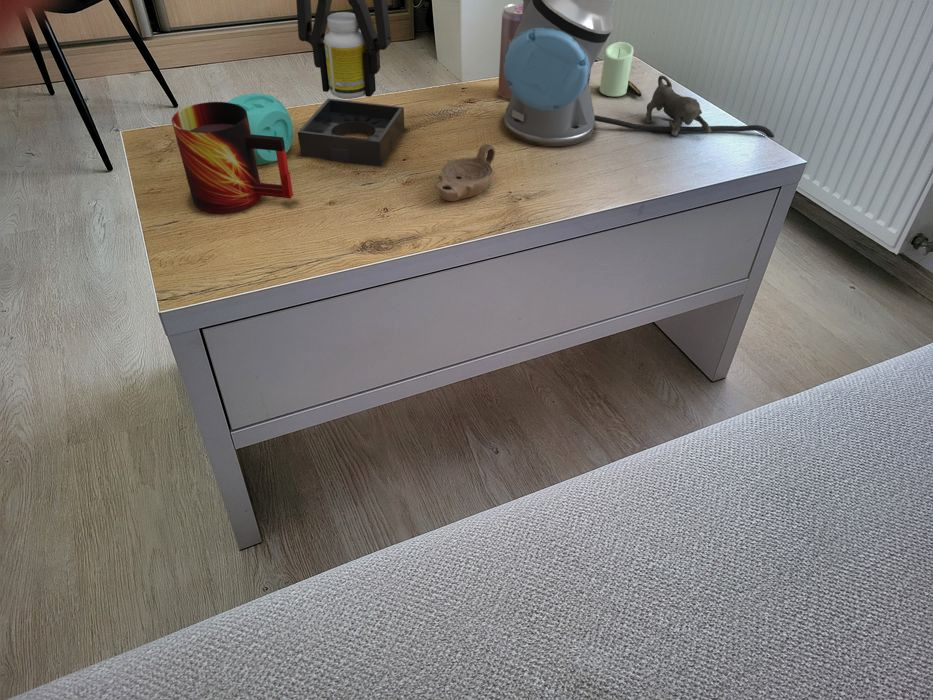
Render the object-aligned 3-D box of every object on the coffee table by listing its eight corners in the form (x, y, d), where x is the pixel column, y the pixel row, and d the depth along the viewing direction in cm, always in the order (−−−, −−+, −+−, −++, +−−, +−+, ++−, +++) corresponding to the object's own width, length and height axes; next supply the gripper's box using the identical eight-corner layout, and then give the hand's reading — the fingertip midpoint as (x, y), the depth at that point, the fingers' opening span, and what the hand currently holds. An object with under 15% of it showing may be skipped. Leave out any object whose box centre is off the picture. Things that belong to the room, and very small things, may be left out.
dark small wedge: (609, 73, 142) (608, 65, 141) (614, 71, 142) (614, 64, 141) (638, 100, 131) (638, 92, 130) (644, 98, 132) (644, 90, 131)
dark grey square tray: (405, 129, 120) (404, 118, 119) (381, 166, 111) (380, 154, 109) (330, 120, 122) (328, 109, 121) (300, 156, 113) (298, 144, 111)
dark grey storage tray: (404, 129, 120) (403, 106, 118) (381, 166, 111) (379, 142, 108) (330, 121, 122) (327, 98, 120) (300, 156, 113) (297, 132, 110)
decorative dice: (224, 155, 112) (213, 105, 107) (263, 137, 117) (254, 88, 112) (259, 170, 109) (249, 120, 103) (297, 151, 113) (290, 102, 108)
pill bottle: (378, 91, 111) (373, 17, 104) (347, 103, 108) (341, 27, 100) (351, 80, 114) (345, 7, 107) (321, 91, 111) (312, 16, 103)
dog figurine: (638, 118, 126) (646, 76, 121) (663, 112, 128) (672, 70, 123) (685, 146, 118) (696, 102, 113) (711, 139, 120) (722, 95, 115)
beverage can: (530, 89, 134) (537, 3, 124) (529, 102, 130) (536, 14, 120) (499, 87, 135) (503, 2, 125) (497, 100, 130) (501, 12, 120)
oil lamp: (460, 215, 101) (461, 183, 97) (419, 198, 104) (418, 166, 101) (512, 179, 109) (514, 148, 105) (473, 164, 112) (474, 134, 108)
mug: (295, 205, 102) (282, 125, 94) (193, 218, 99) (171, 136, 91) (288, 173, 108) (275, 96, 100) (192, 184, 105) (172, 105, 97)
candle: (620, 99, 131) (627, 53, 126) (595, 92, 133) (601, 47, 128) (630, 90, 135) (638, 45, 129) (605, 84, 136) (612, 39, 131)
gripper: (255, -80, 94) (281, 93, 110) (395, -68, 91) (402, 107, 107) (278, -91, 100) (300, 75, 115) (411, -81, 97) (415, 88, 112)
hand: (349, 90), depth 111 cm, fingers closed on pill bottle, 6 cm apart
